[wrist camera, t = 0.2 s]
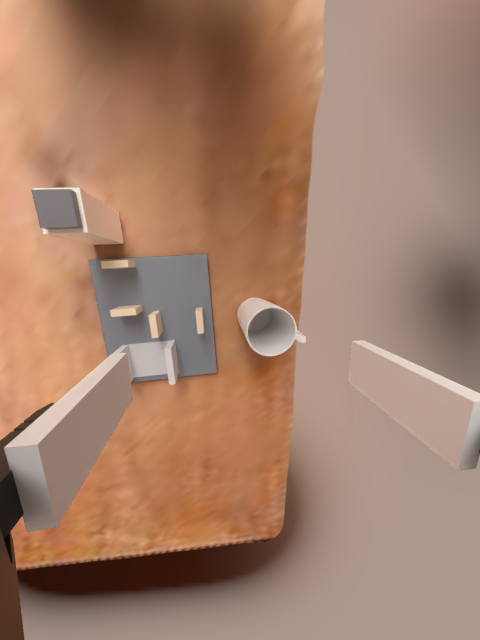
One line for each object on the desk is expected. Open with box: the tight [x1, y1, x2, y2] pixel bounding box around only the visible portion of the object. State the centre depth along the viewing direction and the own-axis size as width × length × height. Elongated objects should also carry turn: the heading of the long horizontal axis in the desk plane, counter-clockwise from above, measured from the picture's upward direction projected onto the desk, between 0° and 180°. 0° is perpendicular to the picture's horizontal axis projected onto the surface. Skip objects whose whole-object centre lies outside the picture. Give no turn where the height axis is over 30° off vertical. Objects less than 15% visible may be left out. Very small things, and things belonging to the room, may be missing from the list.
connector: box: [32, 188, 124, 245], centre depth 29 cm, size 4×4×12 cm
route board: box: [89, 254, 217, 385], centre depth 36 cm, size 21×18×5 cm
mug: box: [237, 298, 306, 356], centre depth 36 cm, size 10×7×12 cm, turn 71°
